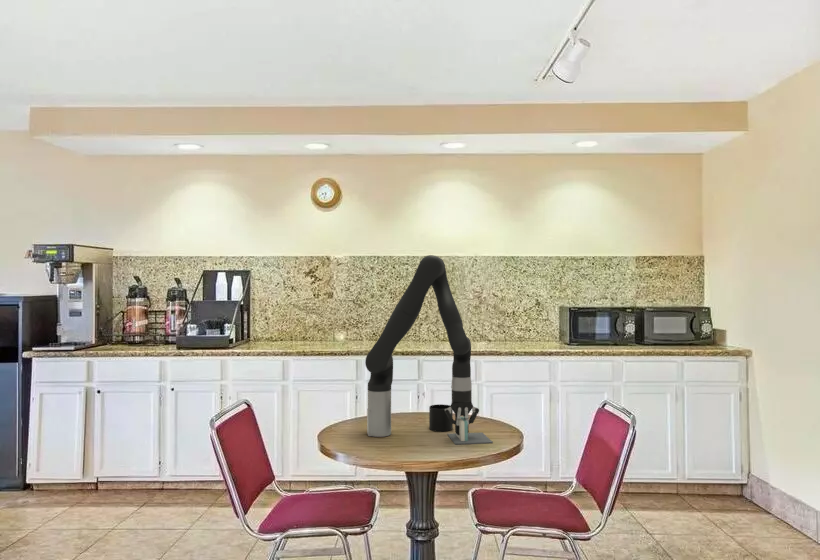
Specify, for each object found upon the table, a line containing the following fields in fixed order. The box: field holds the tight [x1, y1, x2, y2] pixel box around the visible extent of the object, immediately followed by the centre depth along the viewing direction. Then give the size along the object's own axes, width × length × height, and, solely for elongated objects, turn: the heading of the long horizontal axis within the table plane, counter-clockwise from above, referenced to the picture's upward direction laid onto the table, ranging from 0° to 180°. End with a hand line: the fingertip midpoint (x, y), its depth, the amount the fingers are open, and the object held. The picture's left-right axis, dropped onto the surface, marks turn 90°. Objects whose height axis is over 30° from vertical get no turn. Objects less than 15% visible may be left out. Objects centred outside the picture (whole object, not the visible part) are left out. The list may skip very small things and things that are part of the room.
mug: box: [428, 403, 454, 433], centre depth 225 cm, size 9×12×9 cm
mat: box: [446, 432, 494, 446], centre depth 208 cm, size 14×14×1 cm
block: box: [456, 416, 469, 441], centre depth 208 cm, size 2×9×7 cm, turn 8°
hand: (461, 434), depth 208 cm, fingers closed on block, 2 cm apart
